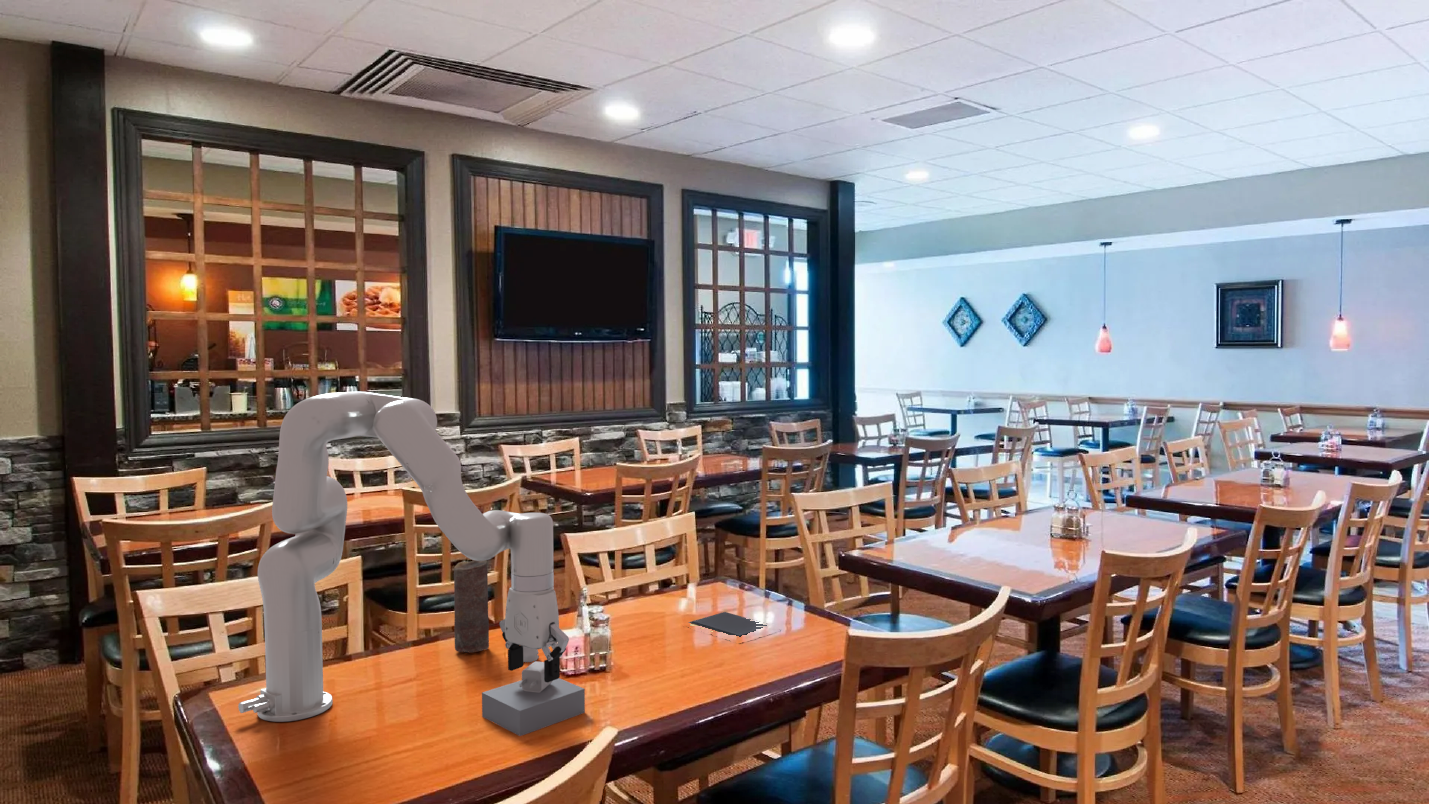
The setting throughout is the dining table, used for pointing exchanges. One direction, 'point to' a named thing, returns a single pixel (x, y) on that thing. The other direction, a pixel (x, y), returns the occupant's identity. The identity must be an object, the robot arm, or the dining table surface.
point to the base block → (532, 706)
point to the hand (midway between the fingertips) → (533, 674)
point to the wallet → (728, 624)
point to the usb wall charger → (534, 678)
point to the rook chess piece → (529, 654)
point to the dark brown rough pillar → (471, 606)
